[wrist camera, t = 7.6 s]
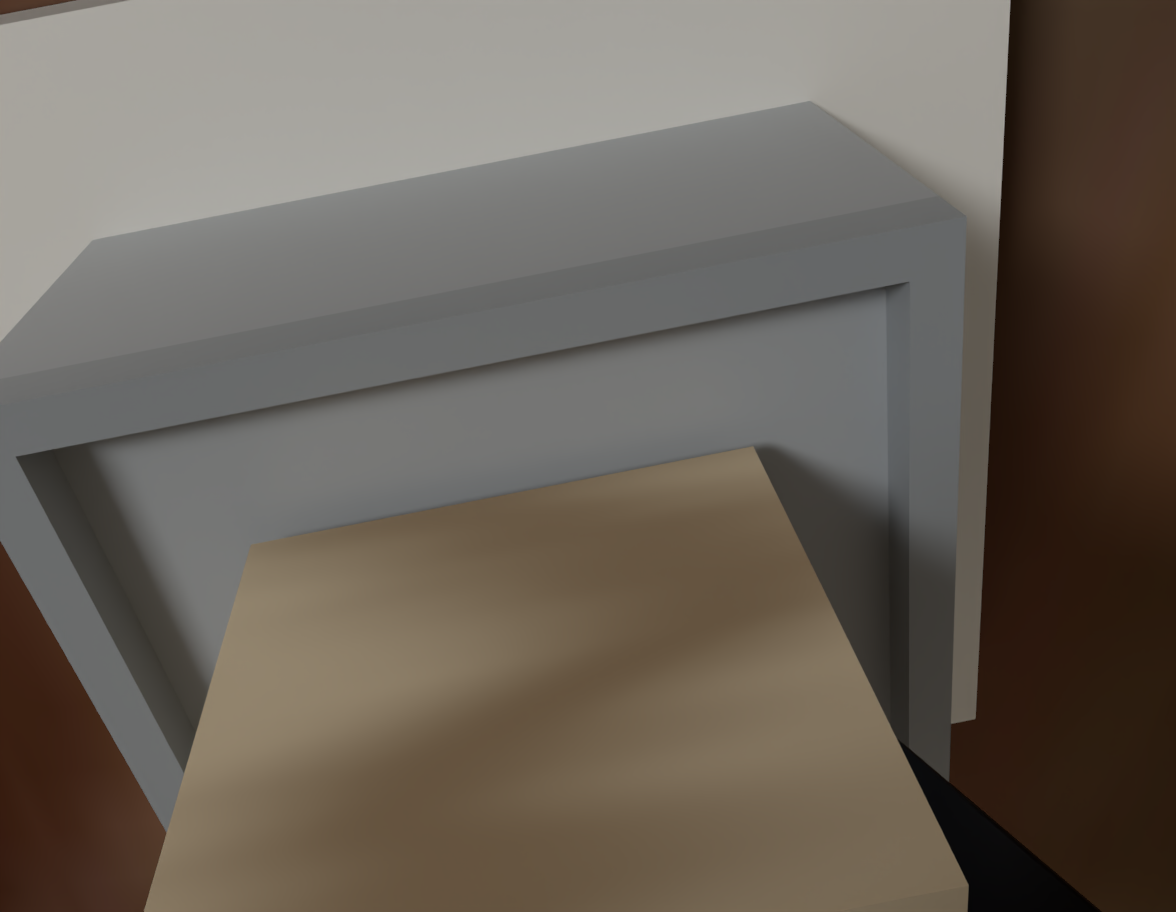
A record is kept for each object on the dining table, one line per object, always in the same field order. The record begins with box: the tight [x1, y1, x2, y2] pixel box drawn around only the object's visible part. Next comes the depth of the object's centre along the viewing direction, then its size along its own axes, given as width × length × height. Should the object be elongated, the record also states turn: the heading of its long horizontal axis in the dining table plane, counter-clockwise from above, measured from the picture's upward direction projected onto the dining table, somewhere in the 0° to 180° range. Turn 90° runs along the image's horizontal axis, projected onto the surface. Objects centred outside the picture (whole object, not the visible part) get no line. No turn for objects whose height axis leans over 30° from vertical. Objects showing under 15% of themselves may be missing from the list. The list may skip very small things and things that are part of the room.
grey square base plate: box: [0, 0, 1010, 832], centre depth 14 cm, size 14×14×6 cm
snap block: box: [144, 446, 969, 912], centre depth 9 cm, size 5×5×6 cm
